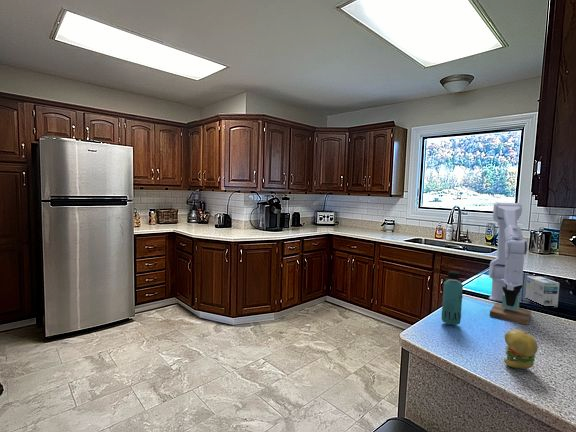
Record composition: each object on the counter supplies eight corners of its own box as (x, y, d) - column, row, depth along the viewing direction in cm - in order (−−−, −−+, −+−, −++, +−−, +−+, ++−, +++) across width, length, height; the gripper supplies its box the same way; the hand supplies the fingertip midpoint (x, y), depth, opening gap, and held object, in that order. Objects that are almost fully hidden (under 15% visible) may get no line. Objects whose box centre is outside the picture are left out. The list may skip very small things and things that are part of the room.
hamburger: (521, 362, 92) (525, 322, 91) (542, 376, 85) (546, 333, 84) (496, 362, 92) (499, 321, 90) (514, 376, 84) (518, 333, 83)
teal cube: (503, 304, 129) (504, 292, 128) (518, 307, 126) (519, 295, 125) (501, 307, 125) (502, 295, 125) (517, 310, 122) (518, 298, 121)
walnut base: (494, 307, 134) (495, 303, 134) (530, 315, 126) (530, 310, 126) (489, 316, 125) (489, 311, 125) (527, 325, 117) (527, 319, 117)
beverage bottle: (440, 326, 115) (443, 272, 113) (441, 320, 120) (444, 268, 119) (460, 330, 112) (464, 275, 110) (460, 323, 117) (464, 270, 116)
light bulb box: (558, 307, 136) (560, 282, 135) (542, 307, 136) (544, 282, 135) (539, 298, 146) (541, 275, 145) (524, 298, 147) (526, 275, 146)
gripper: (504, 265, 132) (501, 296, 133) (498, 271, 121) (495, 306, 122) (525, 268, 127) (522, 301, 128) (521, 275, 116) (518, 311, 118)
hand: (511, 303), depth 125 cm, fingers closed on teal cube, 5 cm apart
